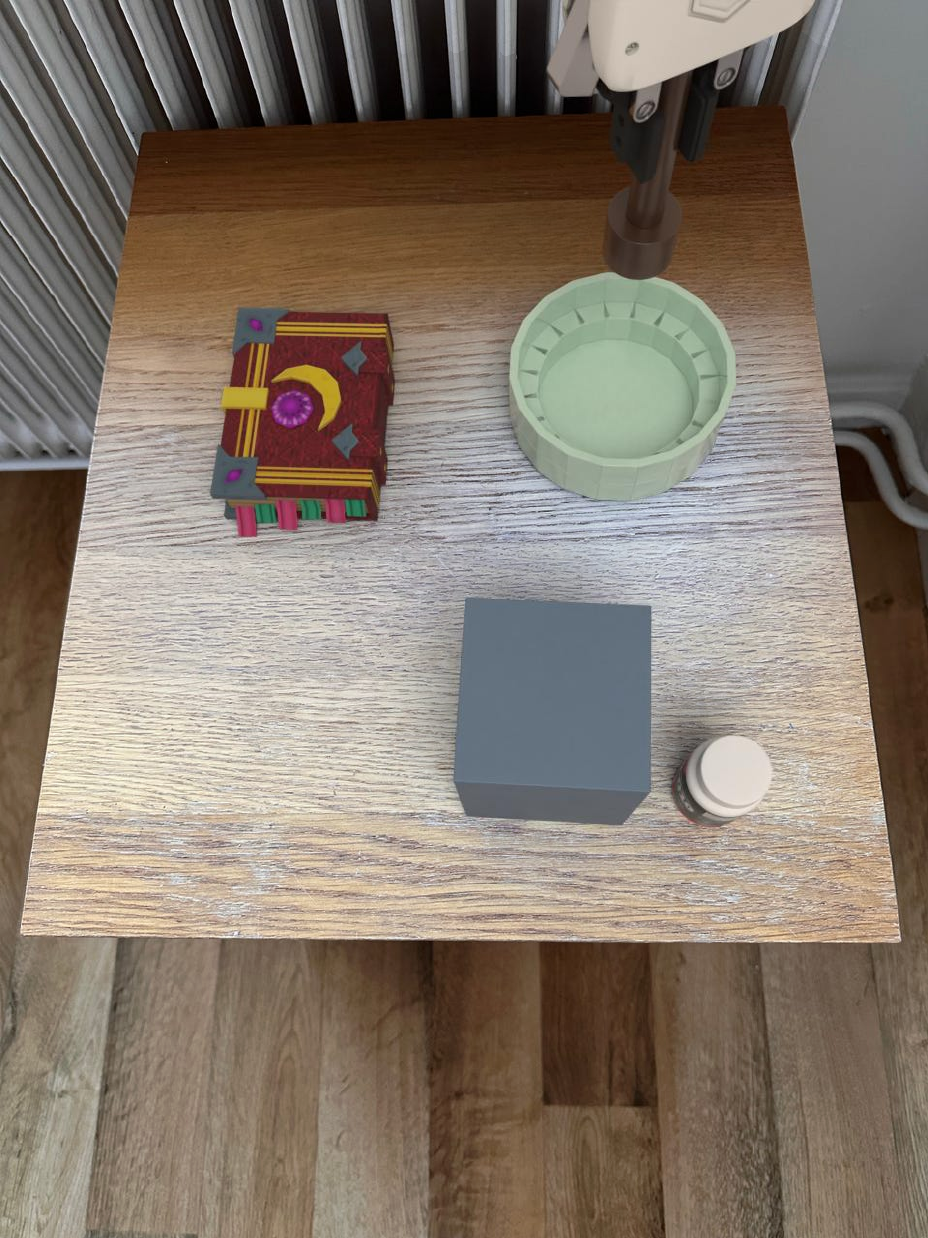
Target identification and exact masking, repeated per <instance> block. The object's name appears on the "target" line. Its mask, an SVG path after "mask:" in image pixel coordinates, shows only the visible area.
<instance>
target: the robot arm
mask: <svg viewBox="0 0 928 1238" xmlns="http://www.w3.org/2000/svg"><path fill="white" fill-rule="evenodd" d="M815 1H816V0H561V9H562V10H561V11H562V20H563V22H564V26H563V29H562V31H561V32H560V35H559V38H558V40H557V43H556V45H555V48H554V50H553V52H552V55H551V57H550V60H549V62H548V65H547V67H546V71H545V72H546V76H547V77H548V79H549V80H550V82H551V83H552V85H553V87H554V88H555V90H556V91H557V93H558V94H559V95H560V96H561V97H563V98H569V97H592V96H593V95H600V96H601V97H602V98H603V99H604V100H605V101H607V102H609V103H611V104H612V105H613V108H612V116H611V123H610V131H609V144H610V148H611V150H612V152H613V154H614V156H615V158H616V159H617V161H619V162H620V163H621V164H625V163H626V164H627V166H628V167H629V169H630V171H631V172H633V173H634V175H635V176H636V178H637V179H638V181H639V182H640V183H641V184H643V183H645V182H648V181H650V180H652V179H653V176H654V175H655V173H656V168H657V163H658V158H659V153H660V147H661V142H662V137H663V132H664V126H665V115H664V113H663V111H662V110H661V109H660V107H659V106H658V101H659V96H660V91H661V85H662V81H665V80H667V79H670V78H672V77H675V76H677V75H680V74H682V73H685V72H687V71H690V70H692V69H694V73H693V77H692V82H691V87H690V92H689V96H688V101H687V106H686V111H685V115H684V120H683V125H682V129H681V134H680V139H679V144H678V148H677V150H678V151H679V153H680V154H681V155H682V156H683V158H684V160H685V161H687V162H690V163H695V162H697V161H699V160H703V158H704V155H705V152H706V149H707V148H706V147H707V144H708V140H709V135H710V131H711V128H712V127H711V126H712V124H713V119H714V116H715V112H716V107H717V105H718V100H719V95H720V92H721V90H723V89H725V88H727V87H728V86H730V85H731V84H732V83H733V82H734V81H735V79H736V78H737V75H738V73H739V69H740V65H741V61H742V58H743V56H744V54H745V53H746V52H747V51H748V50H749V48H751V47H752V46H753V45H755V44H757V43H760V42H762V41H764V40H766V39H769V38H770V37H773V36H775V35H777V34H780V33H781V32H783V31H785V30H787V29H789V28H790V27H793V25H795V24H796V23H798V22H799V21H800V20H801V19H802V18H804V17H805V16H806V15H807V14H808V13H809V11H810V10H811V8H812V7H813V5H814V3H815Z"/></svg>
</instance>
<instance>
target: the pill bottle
mask: <svg viewBox="0 0 928 1238" xmlns="http://www.w3.org/2000/svg"><path fill="white" fill-rule="evenodd" d="M772 779H773V767H772V762H771V759H770V757H769V755H768V754H767V752H766V751H765V749H764V748H763V747H762V746H761V745H760V744H759V743H758V742H756V741H755V740H753V739H751V738H749V737H746V736H742V735H738V734H737V735H736V734H731V735H724V736H718V737H714V738H710V739H708V740H705V741H704V742H702V743H701V744H699V745H698V746H697V747H696V748H695V749H694V750H693V751H692V752H691V753H690V754H689V755H688V756H687V757H686V759H684V760H683V761H682V763H681V764H680V765H679V766H678V768H677V769H676V771H675V773H674V776H673V779H672V783H671V794H672V799H673V802H674V804H675V806H676V808H677V809H678V811H679V812H680V814H681V815H682V816H683V817H684V818H685V819H687V820H688V821H689V822H691V823H693V824H695V825H697V826H700V827H704V828H710V829H715V828H722V827H725V826H727V825H729V824H731V823H733V822H734V821H736V820H738V819H740V818H742V817H743V816H745V815H747V814H749V813H750V812H753V810H755V809H756V808H757V807H758V806H759V805H760V804H761V803H762V801H763V800H764V798H765V796H766V794H767V792H768V790H769V788H770V786H771V783H772V781H773V780H772Z"/></svg>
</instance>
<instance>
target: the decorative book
mask: <svg viewBox="0 0 928 1238" xmlns="http://www.w3.org/2000/svg"><path fill="white" fill-rule="evenodd" d="M236 315H237V316H236V322H235V330H234V337H233V343H232V350H231V355H232V356H233V360H232V361H233V362H232V368H231V375H230V381H229V386H223V392H222V396H221V404H220V408H221V409H222V411H223V413H224V419H223V420H224V421H223V426H222V433H221V440H220V444H219V443H218V444H217V447H216V453H215V460H214V466H213V471H212V478H211V482H210V490H209V495H210V497H211V499H213V500H225V506H224V513H223V516H224V518H225V519H226V520H227V521H229V520H230V521H231V520H233V521H236V522H237V535H238V537H243V538H244V537H245V538H246V537H247V538H258V535H257V534H258V533H257V523H262V524H263V523H264V524H265V523H267V524H277V522H278V524H277V525H278V530H279V531H298V520H299V519H300V520H319V521H320V520H325V521H327V523H329V524H348V522H347V521H359V522H378V519H379V508H380V498H381V488H382V487H381V486H386V483H387V474H388V473H387V472H388V463H389V461H388V460H389V458H388V456H387V452H386V448H385V447H386V446H385V444H386V434H387V424H388V414H389V413H388V412H389V406H393V405H394V397H395V385H396V379H395V374H394V370H393V360H394V359H393V358H394V348H395V343H394V337H393V333H392V327H391V323H390V318H389V314H388V313H382V312H381V313H380V312H379V313H378V312H377V313H376V312H375V313H374V312H372V313H371V312H327V311H326V312H325V311H324V312H322V311H320V312H319V311H291V310H290V308H278V307H277V308H275V307H272V308H271V307H240V306H239V307H238V309H237V314H236ZM256 521H257V522H256Z"/></svg>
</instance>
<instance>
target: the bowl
mask: <svg viewBox="0 0 928 1238" xmlns="http://www.w3.org/2000/svg"><path fill="white" fill-rule="evenodd" d="M509 356H510V357H509V371H508V372H509V374H508V386H509V387H508V389H509V392H508V394H509V395H508V396H509V404H508V405H509V420H510V423H511V426H512V430H513V432H514V436H515V440H516V442H517V445H518V446H519V448H520V449H521V451H522V452H523V453H524V455H525V456H526V457H527V459H528V460H529V462H530V463H531V464H532V466H533V467H534V468H535V469H536V470H537V472H539V473H540V474H542V475H543V476H544V477H546V478H547V479H548V480H550V481H552V482H553V483H554V484H556V485H557V486H558V487H560V488H561V489H563V490H565V491H569V492H571V493H575V494H577V495H580V496H584V497H587V498H588V499H589V498H590V499H593V500H596V501H621V502H622V501H624V502H630V501H636V500H639V499H643V498H647V497H653V496H656V495H659V494H663V493H665V492H667V491H669V490H671V489H672V488H674V487H675V486H676V485H678V484H680V483H682V482H683V481H684V480H687V479H688V478H689V477H691V476H692V475H693V474H694V473H695V472H696V470H697V469H698V468H699V467H700V466H701V464H702V463H703V462H704V461H705V459H707V458H708V456H709V455H710V453H711V452H712V451H713V448H714V446H715V443H716V441H717V438H718V435H719V432H720V430H721V427H722V425H723V423H724V420H725V417H726V416H727V415H726V414H727V412H728V409H729V406H730V404H731V402H732V399H733V395H734V392H735V391H736V390H735V389H736V388H737V360H736V358H737V357H736V356H737V355H736V352H735V349H734V347H733V344H732V342H731V340H730V337H729V335H728V332H727V330H726V327H725V325H724V324H723V322H722V321H721V320H720V319H719V317H718V316H717V315H716V314H715V313H714V312H713V310H712V309H711V308H710V307H709V306H708V305H707V304H706V303H705V302H704V301H703V300H702V299H701V298H700V297H699V296H696V295H695V294H693V293H692V292H690V291H689V290H687V289H685V288H684V287H682V286H680V285H679V284H677V283H676V282H673V281H670V280H668V279H664V278H661V277H657V276H655V277H653V278H650V279H645V280H632V279H627V278H624V277H622V276H620V275H618V274H616V273H615V272H613V271H607V272H605V271H604V272H601V273H597V274H593V275H589V276H586V277H581V278H576V279H573V280H571V281H569V282H568V283H565V284H564V285H562V286H561V287H559V288H557V289H555V290H554V291H552V292H550V293H549V294H547V295H545V296H544V297H543V298H542V299H541V300H540V301H539V302H537V304H536V306H535V307H534V308H533V309H532V310H531V311H530V312H528V314H527V315H526V316H525V317H524V318H523V320H522V321H521V323H520V326H519V328H518V330H517V333H516V335H515V337H514V340H513V343H512V344H511V347H510V355H509Z"/></svg>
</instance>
